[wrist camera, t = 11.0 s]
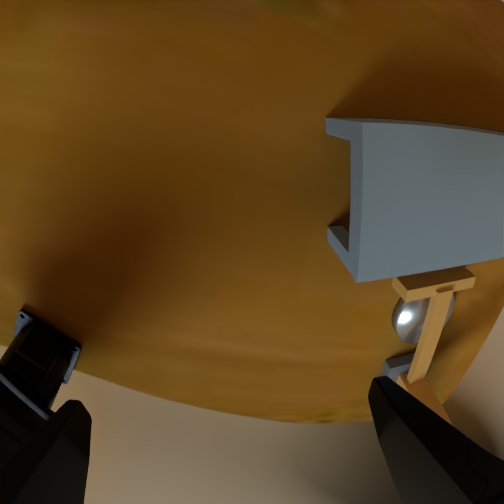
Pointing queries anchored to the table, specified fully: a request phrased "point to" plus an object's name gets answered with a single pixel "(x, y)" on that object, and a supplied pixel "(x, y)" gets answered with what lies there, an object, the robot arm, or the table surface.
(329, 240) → the blue-grey bench
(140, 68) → the table surface
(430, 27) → the table surface
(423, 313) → the silver metal disc
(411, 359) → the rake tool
